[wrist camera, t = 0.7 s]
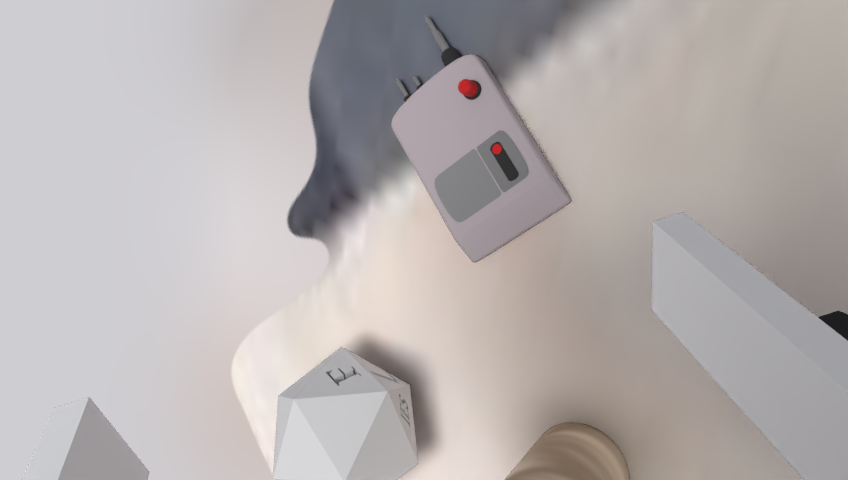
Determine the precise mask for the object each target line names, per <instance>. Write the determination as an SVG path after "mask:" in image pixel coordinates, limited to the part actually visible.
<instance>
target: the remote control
mask: <svg viewBox="0 0 848 480" xmlns="http://www.w3.org/2000/svg"><path fill="white" fill-rule="evenodd" d="M424 19H425V21H426V23H427V25H428V26H429V28H430V30H431V31H432V33H433V37H434V39H435V41H436V42H437V44H438V46H439V47H440V49H441V51H442V52H443V53H442V56H441V58H442V61H443V63H444V65H445V68H443V69H442V70H440V71H439V72H438V73H437V74H435V75H434V76H433V77H432V78H431V79H429V80H428V81H427V82H426V83H425V84H421V83H420V81H419V79H418V78H417V76H416V75H414V76H413V77H412V78H413V80H414V82H415V83H416V85H417V91H416V92H415V93H414V94H412V95H411V96H410V95H409V94H408V93H407V91H406V89H405V87H404V86H403V84H402V82H401V81H400V79H396V83H397V84H398V86H399V88H400V90H401V91H402V93H403V95H404V97H405V98H404V101H405V103H404V104H403V105H402V106H401V107H400V108H399V109H398V111H397V112H396V114H395V115H394V117H393V120H392V123H391V125H392V129H393V131H394V133H395V135H396V136H397V138H398V140H399V142H400V143H401V145H402V147H403V149H404V151H405V152H406V154H407V156H408V158H409V159H410V161H411V163H412V165H413V167H414V168H415V170H416V172H417V174H418V175H419V177H420V179H421V181H422V182H423V184H424V186H425V188H426V190H427V191H428V193H429V195H430V197H431V198H432V200H433V202H434V204H435V206H436V207H437V209H438V211H439V213H440V214H441V216H442V218H443V220H444V221H445V223H446V225H447V227H448V229H449V230H450V232H451V234H452V236H453V237H454V239H455V240H456V242H457V243H458V244H459V246H460V247H461V248H462V249H463V251H464V252H465V253H466V254H467V256H468V257H469V258H470V259H471V261H472V262H477V261H479V260H481V259H483V258H485V257H486V256H488V255H489V254H491V253H493V252H494V251H496V250H497V249H499V248H501V247H502V246H504V245H505V244H507V243H508V242H510V241H512V240H513V239H515V238H516V237H518V236H519V235H521V234H522V233H524V232H526V231H527V230H529V229H530V228H532V227H533V226H535V225H537V224H538V223H540V222H541V221H543V220H544V219H546V218H547V217H549V216H551V215H552V214H554V213H555V212H557V211H558V210H560V209H561V208H563V207H564V206H566V205H567V204H569V203H570V202H571V198H570V197H569V195H568V194H567V192H566V190H565V189H564V187H563V186H562V184H561V182H560V181H559V179H558V178H557V176H556V174H555V173H554V171H553V170H552V168H551V166H550V165H549V163H548V162H547V160H546V158H545V157H544V155H543V154H542V152H541V150H540V149H539V147H538V146H537V144H536V142H535V141H534V139H533V138H532V136H531V134H530V133H529V131H528V130H527V128H526V126H525V125H524V123H523V122H522V120H521V118H520V117H519V115H518V114H517V112H516V110H515V109H514V107H513V106H512V104H511V102H510V101H509V99H508V98H507V96H506V94H505V93H504V91H503V90H502V88H501V86H500V85H499V83H498V82H497V80H496V78H495V77H494V75H493V74H492V72H491V70H490V69H489V67H488V66H487V64H486V62H485V61H484V60H482V59H481V58H479V57H477V56H475V55H474V54H471V55H465V56H463V57H461V56H460V54H459V53H458V52H457V50H456V49H455V48H452V47H449V45H448V44H447V42H446V40H445V39H444V37H443V35H442V34H441V32H440V31H439V30H437V28H436V27H435V25H434V24H433V22H432V20H431V19H430V17H429V16H428V15H427V16H425V17H424Z"/></svg>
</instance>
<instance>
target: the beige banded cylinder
mask: <svg viewBox="0 0 848 480" xmlns="http://www.w3.org/2000/svg"><path fill="white" fill-rule="evenodd" d="M505 480H630V478H629V470H628V466H627V463H626V461H625V458H624V456H623V454H622V453H621V451H620V450H619V448H618V447H617V446H616V444H615V443H614V442H613V441H612V440H611V439H610V438H609V437H608V436H606V435H605V434H604V433H602V432H601V431H599V430H597V429H595V428H593V427H591V426H588V425H585V424H580V423H563V424H559V425H556V426H554V427H552V428H550V429H549V430H547V431H546V432H545V433H544V434H543V435H542V436H541V437H540V438H539V440H538V441H537V442H536V443H535V444H534V446H533V447H532V448H531V449H530V450H529V451H528V453H527V454H526V455H525V456H524V457H523V458H522V460H521V461H520V462H519V463H518V464H517V466H516V467H515V468H514V469H513V470H512V471H511V473H510V474H509V475H508V476H507V477H506V478H505Z"/></svg>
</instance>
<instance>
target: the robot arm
mask: <svg viewBox="0 0 848 480" xmlns="http://www.w3.org/2000/svg"><path fill="white" fill-rule="evenodd" d="M652 311H653V312H654V313H655V314H656V316H657V317H658V318H659V319H660V320H661V321H662V322H663V323H664V325H665V326H666V327H667V328H668V329H669V330H670V331H671V332H672V333H673V335H674V336H675V337H676V338H677V339H678V340H679V341H680V342H681V343H682V345H683V346H684V347H685V348H686V349H687V350H688V351H689V352H690V353H691V355H692V356H693V357H694V358H695V359H696V360H697V361H698V362H699V363H700V365H701V366H702V367H703V368H704V369H705V370H706V371H707V372H708V374H709V375H710V376H711V377H712V378H713V379H714V380H715V381H716V382H717V384H718V385H719V386H720V387H721V388H722V389H723V390H724V391H725V392H726V394H727V395H728V396H729V397H730V398H731V399H732V400H733V401H734V402H735V404H736V405H737V406H738V407H739V408H740V409H741V410H742V411H743V412H744V414H745V415H746V416H747V417H748V418H749V419H750V420H751V421H752V423H753V424H754V425H755V426H756V427H757V428H758V429H759V430H760V431H761V433H762V434H763V435H764V436H765V437H766V438H767V439H768V440H769V441H770V443H771V444H772V445H773V446H774V447H775V448H776V449H777V450H778V451H779V453H780V454H781V455H782V456H783V457H784V458H785V459H786V460H787V461H788V463H789V464H790V465H791V466H792V467H793V468H794V469H795V470H796V472H797V473H798V474H799V475H800V476H801V477H802V478H803V479H804V480H848V315H847V314H845V313H843V312H840V311H836V312H833V313H830V314H827V315H823V316H820V317H817V316H815V315H814V314H813V313H812V312H810V311H809V310H808V309H807V308H805V307H804V306H803V305H801V304H800V303H799V302H798V301H796V300H795V299H794V298H793V297H791V296H790V295H789V294H787V293H786V292H785V291H784V290H782V289H781V288H780V287H778V286H777V285H776V284H775V283H773V282H772V281H771V280H770V279H768V278H767V277H766V276H764V275H763V274H762V273H761V272H759V271H758V270H757V269H756V268H754V267H753V266H752V265H750V264H749V263H748V262H747V261H745V260H744V259H743V258H741V257H740V256H739V255H738V254H736V253H735V252H734V251H733V250H731V249H730V248H729V247H727V246H726V245H725V244H724V243H722V242H721V241H720V240H719V239H717V238H716V237H715V236H713V235H712V234H711V233H710V232H708V231H707V230H706V229H704V228H703V227H702V226H701V225H699V224H698V223H697V222H696V221H694V220H693V219H692V218H690V217H689V216H688V215H687V214H685V213H684V212H682V213H679V214H675V215H672V216H669V217H666V218H662V219H659V220H656V221H653V244H652ZM148 475H149V471H148V469H147V468H146V467H145V466H144V464H143V463H142V462H141V461H140V459H139V458H138V457H137V456H136V454H135V453H134V452H133V451H132V450H131V448H130V447H129V446H128V444H127V443H126V442H125V441H124V440H123V438H122V437H121V436H120V435H119V433H118V432H117V431H116V429H115V428H114V427H113V426H112V425H111V423H110V422H109V421H108V420H107V418H106V417H105V416H104V415H103V413H102V412H101V411H100V410H99V408H98V407H97V406H96V405H95V404H94V402H93V401H92V400H91V399H90V397H87V398H84V399H80V400H77V401H74V402H71V403H67V404H64V405H61V406H58V407H55V408H53V410H52V413H51V415H50V418H49V420H48V422H47V424H46V426H45V429H44V431H43V433H42V436H41V438H40V440H39V442H38V445H37V447H36V449H35V452H34V454H33V456H32V458H31V461H30V463H29V465H28V468H27V470H26V472H25V474H24V477H23V479H22V480H148Z"/></svg>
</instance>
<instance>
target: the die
mask: <svg viewBox="0 0 848 480" xmlns="http://www.w3.org/2000/svg"><path fill="white" fill-rule="evenodd" d="M417 465H418V454H417V445H416V436H415V427H414V418H413V409H412V399H411V390H410V384H408V383H406V382H404V381H402V380H401V379H399V378H397V377H395V376H393V375H392V374H390V373H386V372H385V371H384V370H383V369H381V368H379V367H377V366H375V365H374V364H372V363H370V362H368V361H366V360H365V359H363V358H361V357H359V356H357V355H356V354H354V353H352V352H350V351H349V350H347V349H345V348H343V347H341V348H339V349H338V350H337V351H336V352H334V353H333V354H332V355H330V356H329V357H328V358H327V359H325V360H324V361H323V362H321V363H320V364H319V365H317V366H316V367H315V368H314V369H312V370H311V371H310V372H308V373H307V374H306V375H305V376H303V377H302V378H301V379H299V380H298V381H297V382H295V383H294V384H293V385H292V386H290V387H289V388H288V389H286V390H285V391H284V392H283V393H281V394H280V395H279V396H278V406H277V422H276V437H275V453H274V468H273V479H275V480H398V479H399V478H400V477H402V476H403V475H404V474H406V473H407V472H408V471H410V470H411V469H412V468H414V467H415V466H417Z"/></svg>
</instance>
